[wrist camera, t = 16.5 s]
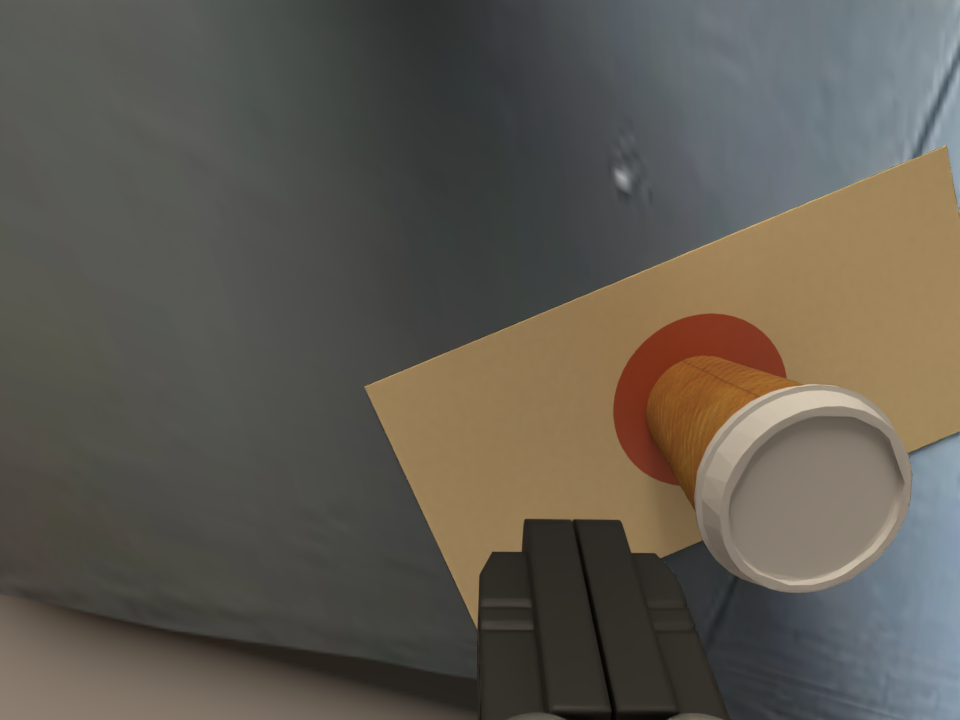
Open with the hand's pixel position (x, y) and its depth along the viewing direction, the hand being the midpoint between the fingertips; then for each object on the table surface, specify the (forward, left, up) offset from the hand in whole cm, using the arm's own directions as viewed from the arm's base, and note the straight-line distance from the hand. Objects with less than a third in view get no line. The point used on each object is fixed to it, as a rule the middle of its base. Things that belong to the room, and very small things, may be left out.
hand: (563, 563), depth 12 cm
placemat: (+13, +11, -28) cm, 33 cm away
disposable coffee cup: (+13, +11, -28) cm, 33 cm away
